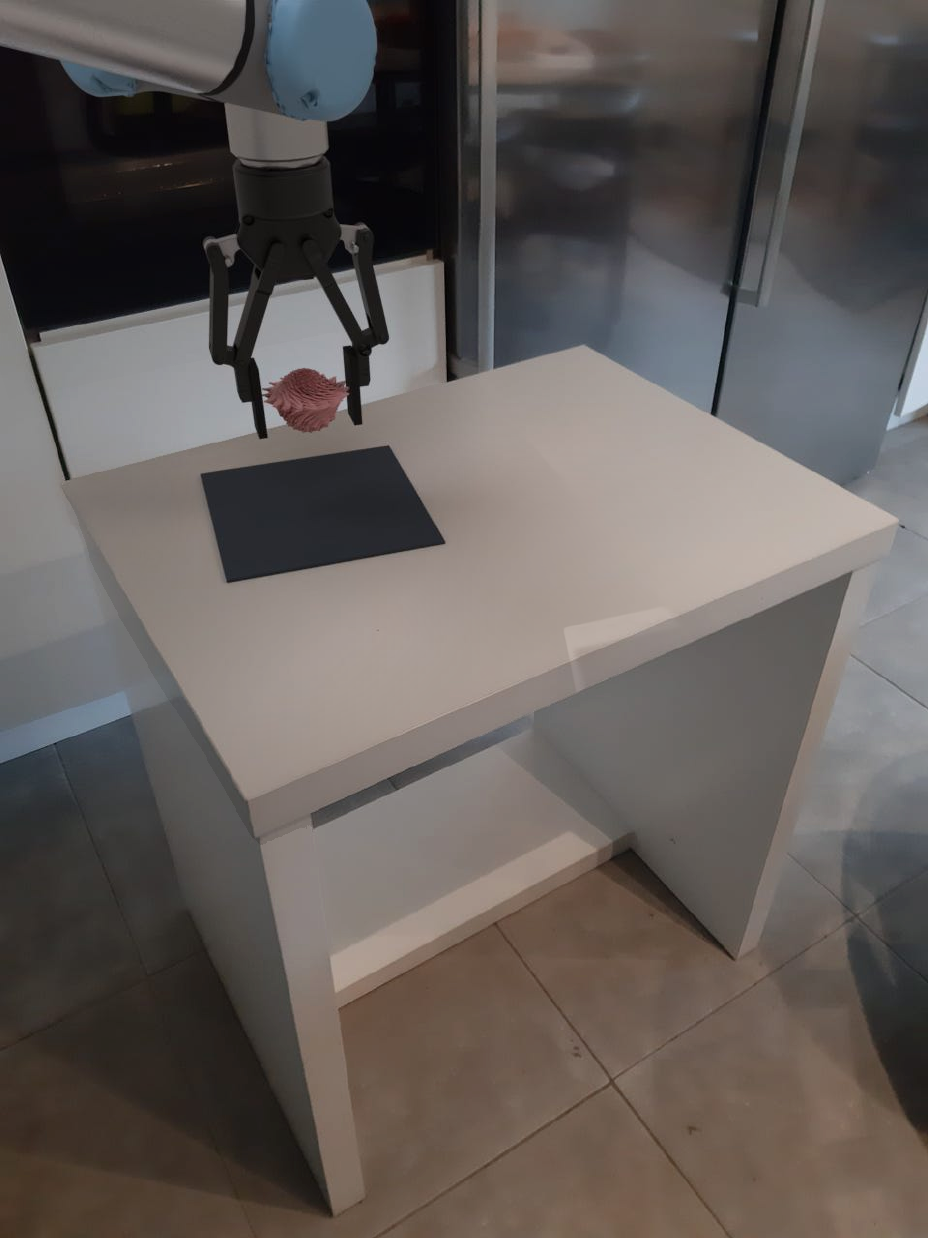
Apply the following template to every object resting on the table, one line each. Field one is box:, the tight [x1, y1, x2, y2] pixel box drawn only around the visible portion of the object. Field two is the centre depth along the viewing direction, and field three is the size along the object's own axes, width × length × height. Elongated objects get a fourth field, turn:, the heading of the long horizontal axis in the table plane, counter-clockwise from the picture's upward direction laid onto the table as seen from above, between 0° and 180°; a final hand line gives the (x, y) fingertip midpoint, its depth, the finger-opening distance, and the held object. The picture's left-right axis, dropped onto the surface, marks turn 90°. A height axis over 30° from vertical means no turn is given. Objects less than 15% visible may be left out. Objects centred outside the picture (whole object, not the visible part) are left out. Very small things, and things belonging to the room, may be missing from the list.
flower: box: [261, 367, 350, 434], centre depth 88 cm, size 8×8×6 cm
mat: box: [200, 444, 446, 584], centre depth 96 cm, size 20×20×1 cm
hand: (308, 425), depth 90 cm, fingers closed on flower, 8 cm apart
